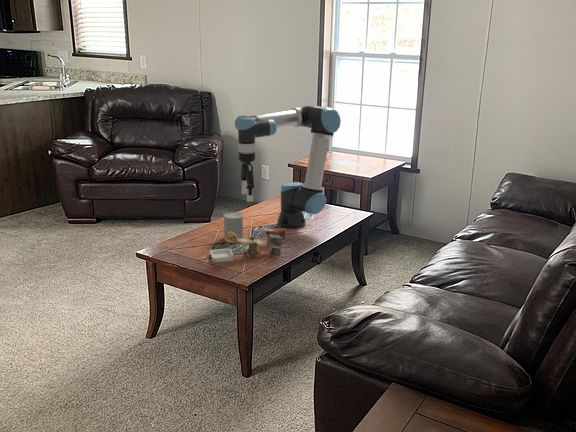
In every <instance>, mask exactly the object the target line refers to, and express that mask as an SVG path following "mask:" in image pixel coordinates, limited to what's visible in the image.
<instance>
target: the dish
mask: <svg viewBox="0 0 576 432" xmlns="http://www.w3.org/2000/svg"><path fill="white" fill-rule="evenodd" d="M209 255H210V258H211V260H212V263H214V264H215V263H225V262H234V261H235V255H234V253H233V250H232V248H220V249H219V248H218V249H210V250H209Z"/></svg>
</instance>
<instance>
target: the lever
mask: <svg viewBox="0 0 576 432" xmlns="http://www.w3.org/2000/svg"><path fill="white" fill-rule="evenodd" d="M234 234H235V233H234ZM225 239H226V240H225ZM225 239H224V240H225V242H226V243H232V244H237V245H239V244H240V245H247V246H249V245H252V243H256V242H257V247H264V248H278V249H281V248H282V246H281V242H282V239H281V237H280V236H279V235H273V234H269V237H268V239H267V241H263V240H259V239H256V240H255V239H254V240H253V239H251V240H250V239H249V238H248V239H247V238H243V239H242V238H237V236H236V234H235V236H234V238H229V237H227V234H226V236H225Z"/></svg>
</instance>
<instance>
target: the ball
mask: <svg viewBox="0 0 576 432" xmlns="http://www.w3.org/2000/svg"><path fill="white" fill-rule="evenodd" d="M234 236H235V234H234V232H232V231H230V232H228V234H227V237H229V238H234Z"/></svg>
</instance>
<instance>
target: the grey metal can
mask: <svg viewBox="0 0 576 432" xmlns="http://www.w3.org/2000/svg"><path fill="white" fill-rule="evenodd" d="M243 222H244V214H243V213H241V212H233V211H232V212H227V213H225V214H223V229H224V230H223V231H224V232H223V234H224V239H223V240H225V241H226V239H225V236H226V234H228V232H230V231H232V232H234V233H235V234H236V236H237V238H242V239H244V223H243Z"/></svg>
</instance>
